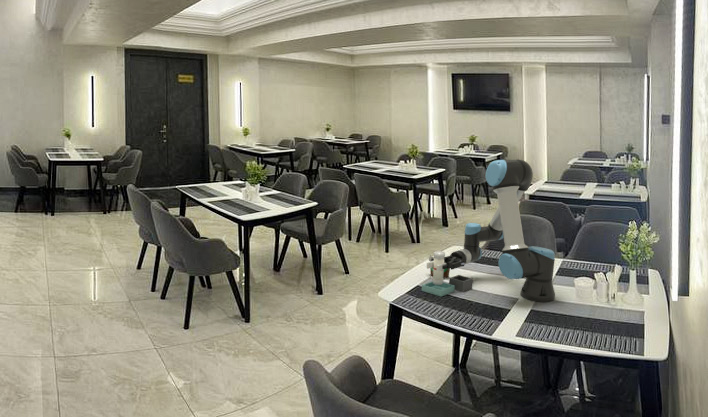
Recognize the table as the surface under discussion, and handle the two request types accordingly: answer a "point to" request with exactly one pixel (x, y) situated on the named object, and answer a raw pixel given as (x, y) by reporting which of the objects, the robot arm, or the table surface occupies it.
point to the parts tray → (438, 288)
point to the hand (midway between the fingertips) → (432, 267)
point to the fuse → (438, 260)
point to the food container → (446, 271)
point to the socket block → (461, 283)
